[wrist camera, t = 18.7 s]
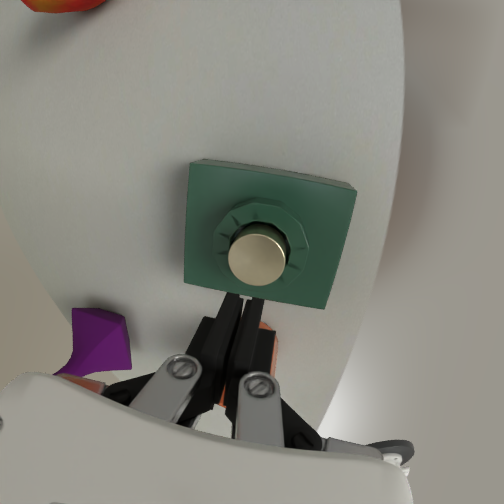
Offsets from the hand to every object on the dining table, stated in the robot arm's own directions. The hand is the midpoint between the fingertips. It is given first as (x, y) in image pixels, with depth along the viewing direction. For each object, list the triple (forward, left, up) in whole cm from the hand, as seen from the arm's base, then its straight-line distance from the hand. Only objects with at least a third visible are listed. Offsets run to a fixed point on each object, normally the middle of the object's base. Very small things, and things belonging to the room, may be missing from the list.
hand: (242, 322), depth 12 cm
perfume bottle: (+17, +16, -13) cm, 26 cm away
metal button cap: (0, 0, -8) cm, 8 cm away
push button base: (0, 0, -12) cm, 12 cm away
